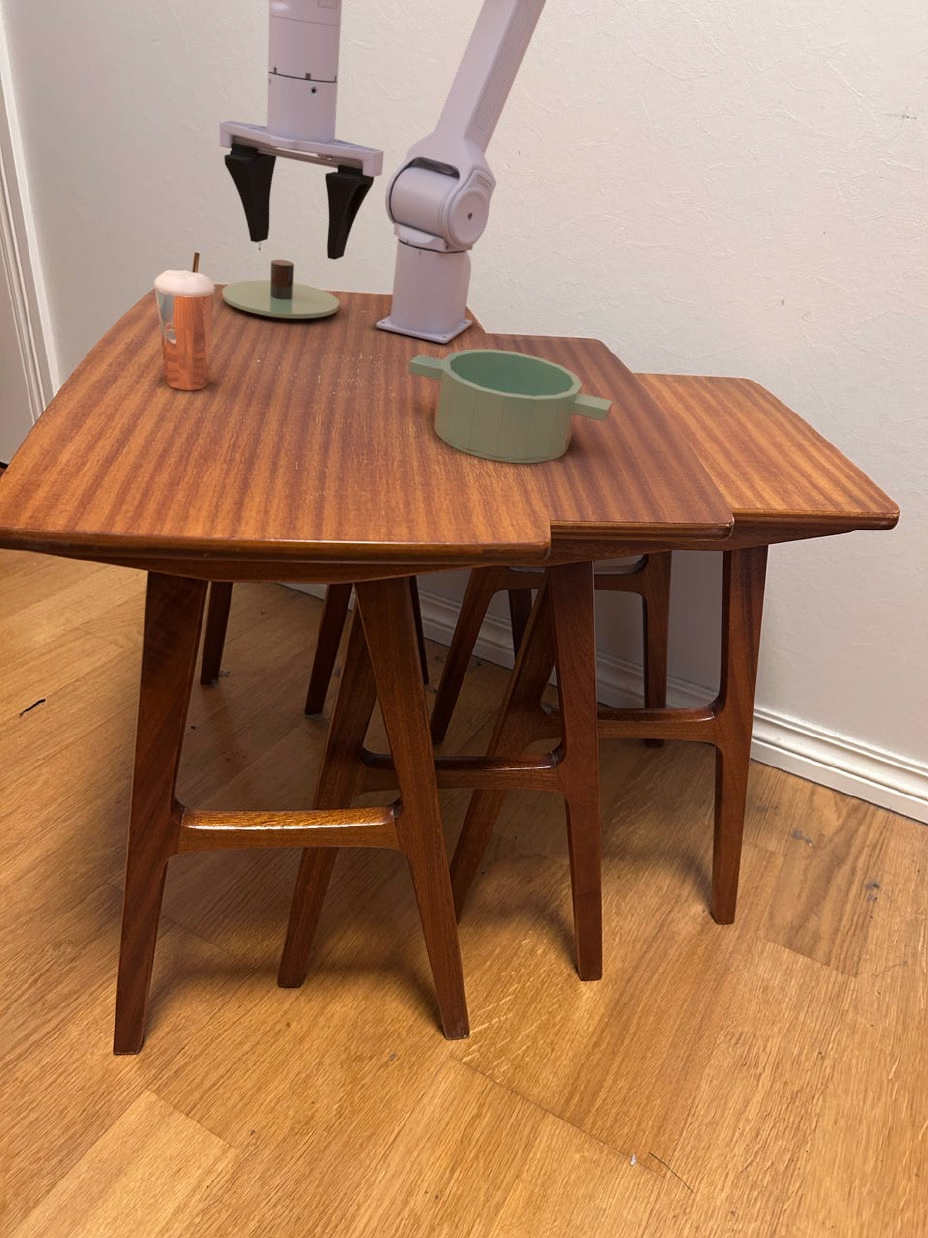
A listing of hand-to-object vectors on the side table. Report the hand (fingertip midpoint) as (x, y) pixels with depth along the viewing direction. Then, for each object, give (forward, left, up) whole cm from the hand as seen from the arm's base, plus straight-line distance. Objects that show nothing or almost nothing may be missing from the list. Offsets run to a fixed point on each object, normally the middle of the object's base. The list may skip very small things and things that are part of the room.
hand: (297, 248), depth 84 cm
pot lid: (-12, -8, -9) cm, 16 cm away
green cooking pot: (+8, +23, -9) cm, 27 cm away
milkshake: (+14, -3, -9) cm, 17 cm away
